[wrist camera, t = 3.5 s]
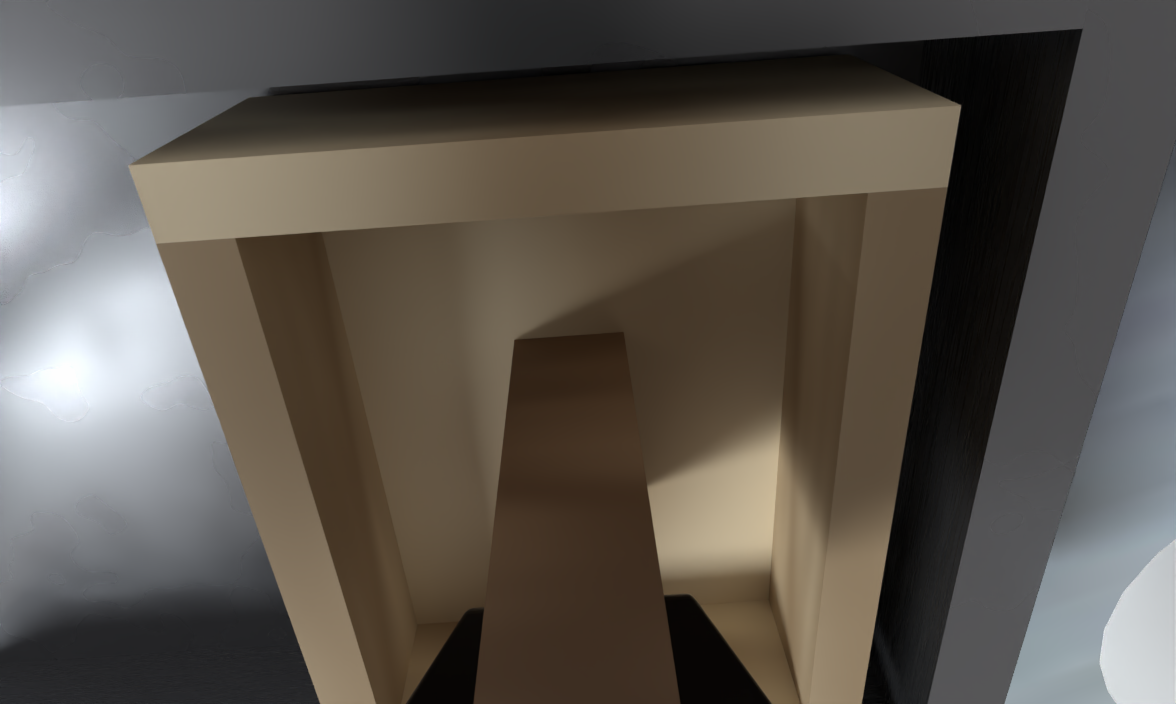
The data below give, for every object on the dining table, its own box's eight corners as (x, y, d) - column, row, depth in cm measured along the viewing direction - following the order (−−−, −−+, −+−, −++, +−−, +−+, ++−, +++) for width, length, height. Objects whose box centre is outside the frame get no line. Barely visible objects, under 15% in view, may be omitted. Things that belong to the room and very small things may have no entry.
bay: (18, 671, 17) (-138, 886, 13) (-421, -26, 10) (-994, 3, 7) (879, 611, 17) (972, 811, 13) (1004, -131, 10) (1266, -160, 6)
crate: (390, 623, 15) (230, 1279, 8) (248, 97, 10) (-522, 529, 3) (797, 594, 15) (1020, 1228, 8) (848, 53, 10) (1567, 383, 3)
